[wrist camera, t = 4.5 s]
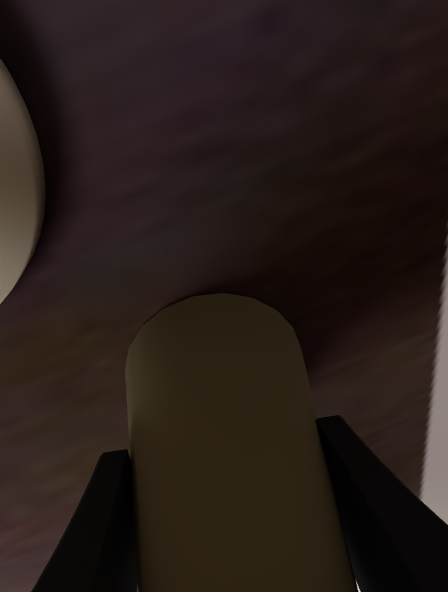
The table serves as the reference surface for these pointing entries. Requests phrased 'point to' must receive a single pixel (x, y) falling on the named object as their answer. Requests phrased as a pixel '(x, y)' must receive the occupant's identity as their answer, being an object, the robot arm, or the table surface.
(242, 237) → the table surface
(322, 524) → the cork
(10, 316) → the table surface
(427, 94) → the table surface
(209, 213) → the table surface
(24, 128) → the coaster
